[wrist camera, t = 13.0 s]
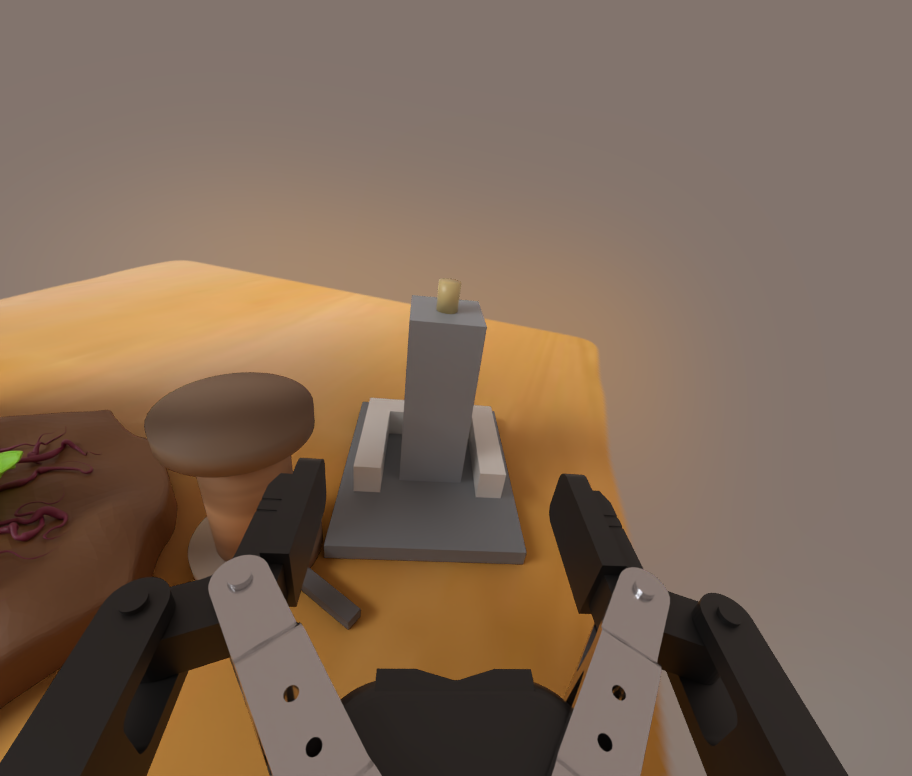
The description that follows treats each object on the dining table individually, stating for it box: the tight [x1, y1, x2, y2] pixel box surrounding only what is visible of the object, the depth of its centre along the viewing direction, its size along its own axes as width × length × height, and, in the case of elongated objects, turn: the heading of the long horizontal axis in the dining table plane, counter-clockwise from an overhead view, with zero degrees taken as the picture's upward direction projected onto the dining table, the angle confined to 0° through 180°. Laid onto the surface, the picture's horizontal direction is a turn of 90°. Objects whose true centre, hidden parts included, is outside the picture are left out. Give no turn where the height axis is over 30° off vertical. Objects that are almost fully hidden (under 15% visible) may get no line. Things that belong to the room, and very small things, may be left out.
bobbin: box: [144, 372, 361, 630], centre depth 19 cm, size 10×6×9 cm, turn 33°
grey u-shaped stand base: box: [324, 398, 527, 564], centre depth 28 cm, size 14×11×3 cm
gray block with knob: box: [399, 278, 487, 483], centre depth 25 cm, size 4×4×13 cm
